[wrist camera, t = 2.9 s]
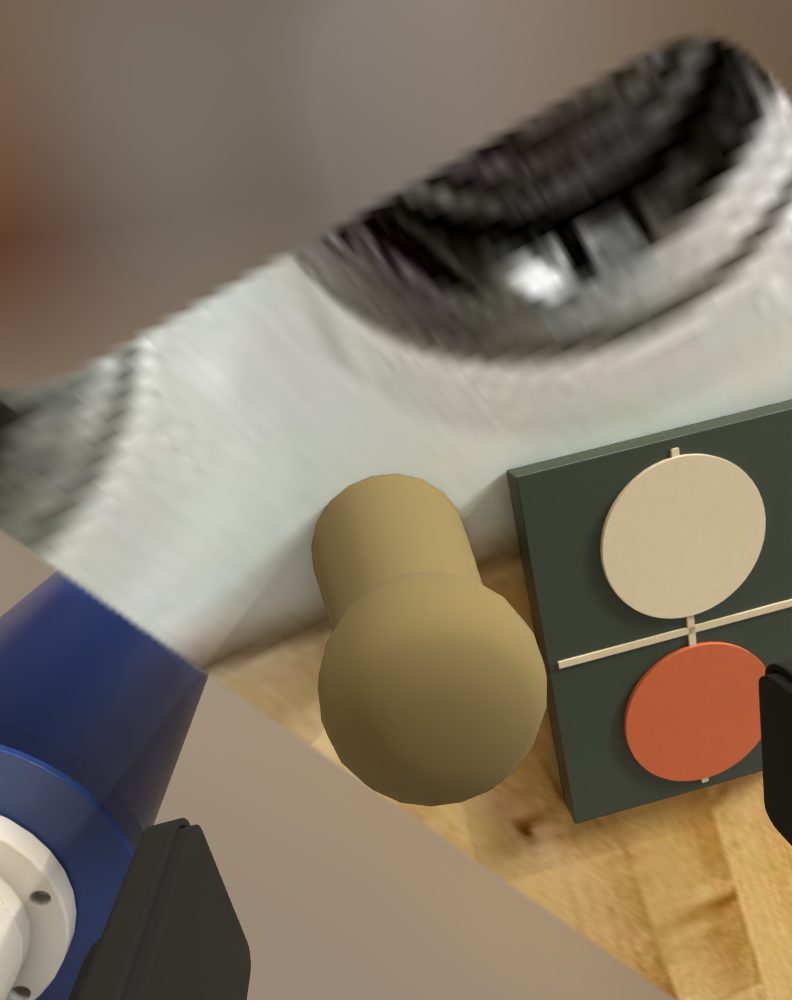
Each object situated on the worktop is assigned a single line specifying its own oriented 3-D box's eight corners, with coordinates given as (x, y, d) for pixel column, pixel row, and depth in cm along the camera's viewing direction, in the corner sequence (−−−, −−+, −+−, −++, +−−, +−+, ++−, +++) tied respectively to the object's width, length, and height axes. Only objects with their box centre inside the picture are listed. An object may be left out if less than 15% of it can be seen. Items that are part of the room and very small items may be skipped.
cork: (306, 619, 22) (287, 858, 12) (316, 468, 21) (303, 587, 10) (457, 624, 23) (564, 853, 13) (476, 479, 22) (615, 601, 11)
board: (564, 803, 26) (577, 827, 25) (505, 470, 22) (517, 478, 21) (809, 734, 27) (835, 755, 25) (799, 397, 22) (829, 400, 21)
